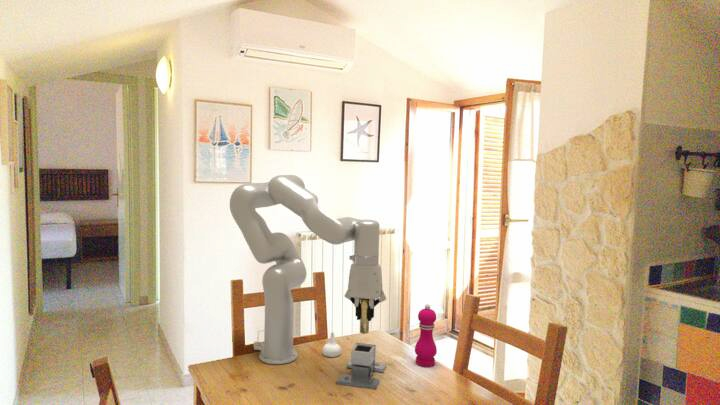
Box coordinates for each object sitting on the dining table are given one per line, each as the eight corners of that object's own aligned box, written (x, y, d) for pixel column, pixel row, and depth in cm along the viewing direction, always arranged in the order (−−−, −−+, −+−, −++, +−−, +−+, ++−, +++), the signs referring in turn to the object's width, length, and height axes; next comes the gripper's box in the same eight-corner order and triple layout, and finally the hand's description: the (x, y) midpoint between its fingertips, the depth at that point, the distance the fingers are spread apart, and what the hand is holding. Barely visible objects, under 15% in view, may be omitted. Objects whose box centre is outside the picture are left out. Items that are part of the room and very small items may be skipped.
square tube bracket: (341, 375, 151) (341, 350, 150) (350, 361, 162) (351, 337, 161) (379, 381, 148) (380, 354, 147) (386, 365, 159) (387, 341, 159)
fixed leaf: (336, 383, 146) (336, 370, 145) (346, 368, 157) (346, 356, 156) (376, 389, 143) (376, 376, 143) (383, 373, 154) (383, 361, 154)
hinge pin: (356, 333, 150) (357, 292, 149) (359, 329, 154) (360, 289, 152) (368, 334, 149) (370, 293, 148) (371, 330, 153) (372, 290, 152)
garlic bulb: (330, 361, 164) (333, 338, 163) (318, 353, 168) (320, 331, 167) (344, 356, 168) (346, 334, 167) (331, 349, 173) (333, 327, 171)
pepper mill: (435, 368, 159) (438, 308, 157) (413, 366, 160) (415, 306, 159) (436, 360, 166) (439, 302, 164) (415, 357, 167) (417, 300, 166)
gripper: (337, 260, 148) (335, 320, 149) (390, 264, 144) (388, 325, 145) (343, 256, 155) (342, 313, 156) (394, 260, 151) (392, 318, 153)
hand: (364, 318), depth 151 cm, fingers closed on hinge pin, 2 cm apart
